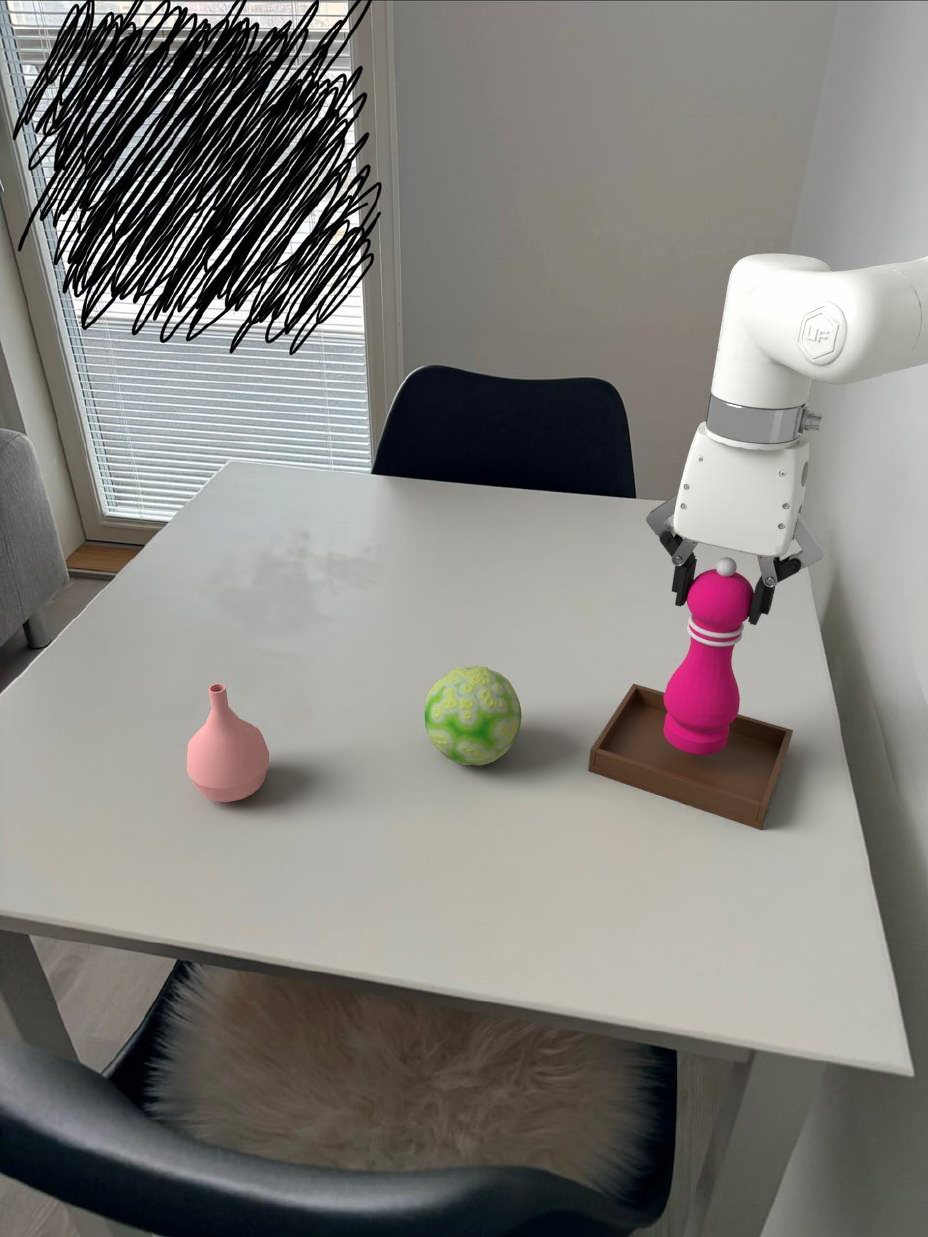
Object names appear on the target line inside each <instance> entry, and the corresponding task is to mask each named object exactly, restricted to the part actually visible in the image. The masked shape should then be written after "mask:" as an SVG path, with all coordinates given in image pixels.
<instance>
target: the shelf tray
mask: <svg viewBox="0 0 928 1237" xmlns="http://www.w3.org/2000/svg"><path fill="white" fill-rule="evenodd" d="M664 694H665V691H660V690H657V689H654V688H650V687H647V686H643V685H641V684H636V683H632V684H631V686H630V688H629V689H628V691H627V692H626V694H625V695H624V698H623V699H622V700H621V702H620V703H619V705H618V707H617V708H616V710H615V711H614V713H613V714H612V716H611V717H610V719H609V720H608V722H607V723H606V725H605V726H604V728H603V730H602V731H601V733H600V734H599V736H598V737H597V739H596V740H595V742H594V743H593V745H592V746H591V748H590V750H589V759H588V760H589V761H588V768H587V772H589V773H593V774H595V775H599V776H602V777H604V778H608V779H610V780H613V781H616V782H619V783H622V784H625V785H628V786H631V787H634V788H637V789H639V790H642V791H646V792H649V793H651V794H654V795H657V796H659V797H664V798H666V799H669V800H671V801H675V802H678V803H680V804H684V805H687V806H689V807H692V808H695V809H697V810H702V811H704V812H707V813H710V814H713V815H716V816H719V817H722V818H724V819H727V820H731V821H733V822H736V823H740V824H742V825H745V826H748V827H751V828H754V829H757V830H760V831H761V830H762V829H763V827H764V823H765V820H766V817H767V815H768V811H769V808H770V805H771V802H772V800H773V796H774V793H775V791H776V787H777V784H778V781H779V778H780V776H781V773H782V769H783V767H784V763H785V761H786V757H787V755H788V752H789V747H790V745H791V741H792V736H793V734H794V733H793V732H794V730H793V729H791V728H787V727H784V726H780V725H777V724H773V723H770V722H767V721H762V720H760V719H758V718H757V719H756V718H753V717H749V716H746V715H742V714H740V713H738V714H737V717H736V718H735V719H734V721H733V722H732V723H730V724H729V734H728V738H727V743H726V745H725V747H724V748H723V749H722V750H720V751H718V752H717V753H713V754H709V755H696V754H690V753H687V752H684V751H681V750H679V749H677V748H676V747H674V746H673V745H672V744H670V743H669V742H668V740H667V739H666V737H665V735H664V724H665V718H666V714H667V713H668V711H667V710H666V707H665V705H664Z"/></svg>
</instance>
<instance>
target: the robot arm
mask: <svg viewBox="0 0 928 1237" xmlns="http://www.w3.org/2000/svg"><path fill="white" fill-rule="evenodd" d="M926 364H928V255H926V256H924V257H921V258H917V259H913V260H909V261H902V262H893V263H887V264H879V265H872V266H868V267H864V268H856V269H848V270H838V271H837V270H836V271H832V269H831V267H830V266H829V264H827V263H826V262H825V261H823V260H821V259H819V258H816V257H811V256H807V255H800V254H791V253H775V252H774V253H773V252H771V253H770V252H769V253H756V254H750V255H747V256H744V257H742V258H740V259H739V260H738V261H737V262H736V263H735V264H734V266H732V268H731V271H730V274H729V278H728V283H727V287H726V294H725V301H724V307H723V313H722V319H721V326H720V332H719V337H718V344H717V350H716V356H715V362H714V369H713V375H712V382H711V388H710V395H709V400H708V407H707V413H706V419H705V421H702V422H700V423H699V425H698V427H697V429H696V431H695V433H694V436H693V439H692V442H691V444H690V448H689V450H688V454H687V458H686V460H685V465H684V468H683V472H682V477H681V479H680V480H681V481H680V484H679V487H678V488H679V489H678V492H677V493H676V494H675V495H673V496H672V497H670V498H669V499H667V500H665V502H663V503H661V504H660V505H658V506H657V507H655V508H654V509H652V510H651V511H650V512H649V513H648V514H647V515H646V517H645V521H646V524H647V525H648V526H649V528H650V529H651V530H652V531H653V533H654V534H655V535H656V536H657V537H658V538H659V542H660V544H661V545H662V546H663V548H664V550H666V552H667V553H668V554H669V555H670V557H671V562H672V564H673V565H674V570H673V571H674V572H673V578H672V584H671V592H672V593H676V597H675V602H674V606H677V607H682V606H684V605H685V604H686V603H687V593H688V589H689V587H690V585H691V583H692V581H693V580H694V579H695V574H696V569H697V568H696V567H697V561H698V559H697V556H696V555H695V553H694V550H695V549H696V547H697V546H698V544H703V545H707V546H712V547H716V548H722V549H726V550H730V551H735V552H739V553H743V554H749V555H753V556H756V557H757V562H758V566H759V570H760V577H759V578H758V581H757V582H756V585H755V587H754V596H753V601H752V606H751V610H750V615H749V617H748V620H747V622H748V623H749V624H750V625H752V626H757V624H758V622H759V620H760V618H761V616H762V614H764V615H767V616H768V615H769V614H770V611H771V609H772V604H773V600H774V595H775V591H776V586H777V585H778V584H779V583H780V582H783V581H784V580H786V579H788V578H790V577H791V576H793V575H795V574H797V573H799V572H800V571H801V570H803V569H805V568H806V569H807V567H810V566H812V565H813V564H815V563H817V562H819V561H821V560H822V559H823V558H824V556H825V554H826V547H825V545H824V544H823V543H822V540H820V538H819V537H818V535H817V534H816V533H815V532H814V530H813V529H812V527H811V526H810V524H808V522H807V520H806V519H805V518H804V516H803V515H802V511H803V507H804V500H805V494H806V488H807V482H808V472H809V461H810V460H809V458H810V440H809V437H807V436H806V435H804V434H805V431H807V432H810V431H811V430H812V431H818V432H820V431H821V429H822V425H823V422H824V421H823V420H824V417H825V414H824V413H819V412H815V410H811V406H809V402H810V400H809V396H810V391H811V386H812V381H813V380H814V381H817V382H820V383H824V384H828V385H839V386H840V385H849V384H854V383H858V382H859V383H860V382H863V381H866V380H871V379H874V378H877V377H881V376H884V375H888V374H890V373H891V374H892V373H894V372H898V371H902V370H907V369H910V368H914V367H919V366H922V365H926ZM672 516H673V521H672V525H671V522H670V521H669V518H670V517H672ZM794 540H795V541H796V543H797V544H798V545H799V547H800V548H801V550H799V551H798V552H796V553H793V554H790V555H789V556H786V557H785V558H783V559H782V556H785V554H787V552H788V550H789V548H790V545H791V543H792V541H794Z"/></svg>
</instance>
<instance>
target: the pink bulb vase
mask: <svg viewBox="0 0 928 1237" xmlns="http://www.w3.org/2000/svg"><path fill="white" fill-rule="evenodd" d="M208 696H209V701H210V702H209V703H210V708H211V710H210V711H209V714H208V716H207V719H206V721H205V723H204V724H203V726H202V727H200V728H199V730H197V731H196V732H195V733H194V734H193V736H192V737H191V739H190V740H189V741H188V742H187V743H188V744H187V752H186V769H185V770H186V773H187V775H188V777H189V779H190V781H191V782H192V784H193V785H194V787H195V788H196V790H197V792H198V793H199V794H200V795H201V796H202V797H204V798H205V799H207V800H210V801H214V802H219V803H221V802H222V803H230V802H235V801H240V800H243V799H245V798H247V797H249V796H251V795H253V794H254V793H255V792H257V791H258V790H259V789H260V788H261V787H262V785H263V783H264V782H265V779H266V777H267V772H268V767H269V764H270V751H269V749H268V746H267V743H266V740H265V738H264V735H263V734H262V732H261V730H260V728H258V727H256V726H255V725H253V724H252V723H250V722H248V721H246V720H243V719H242V718H240V717H239V716H238V715H237V714H236V713H235V711H233V710H232V708H231V707H230V706H229V701H228V692H227V687H226V685H225V684H224V683H222V682H217V683H212V684H211V685H209V686H208Z"/></svg>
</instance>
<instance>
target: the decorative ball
mask: <svg viewBox="0 0 928 1237" xmlns="http://www.w3.org/2000/svg"><path fill="white" fill-rule="evenodd" d="M512 685H513V684H511V682H510V681H509V679H507V678H506V677H505V676H504V675H503V674H501V672H498V671H496V670H493V669H490V668H488V667H486V666H479V665H465V666H460V667H457V668H454V669H452V670H450V671H449V672H447V673H445V675H443V677H441V678H440V679H439V680H437V681H436V682H435V683H434V684H433V686H432V687H431V688H430V689H429V692H428V693H427V695H426V698H425V703H424V723H425V724H424V726H425V728H426V732H427V734H428V738H429V740H430V741H431V743H432V745H433V746H434V747H435V748H436V749H437V750H438V752H440V754H442V756H444V757H445V758H446V759H449V760H451V761H453V762H455V763H456V764H458V765H462V766H484V765H488V764H491V763H494V762H495V761H497V760H498V759H500V758H501V757H502V756H504V755H505V754H506V753H507V752H508V751H509V750H510V748H511V747H512V746H513V744H514V743H515V741H516V739H517V737H518V735H519V732H520V729H521V726H522V725H521V724H522V708H521V702H520V700H519V699H520V698H519V696H518V694H517V692H516V690H515V688H514V686H512Z"/></svg>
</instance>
